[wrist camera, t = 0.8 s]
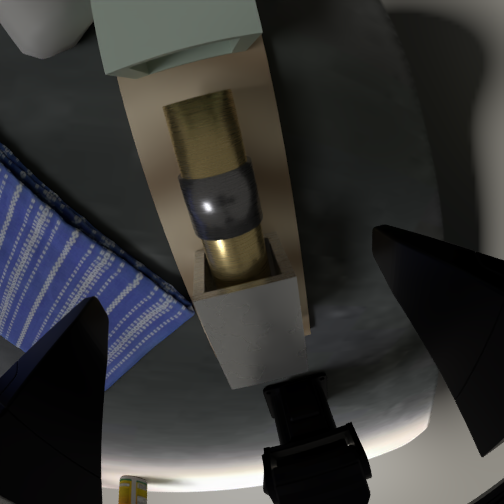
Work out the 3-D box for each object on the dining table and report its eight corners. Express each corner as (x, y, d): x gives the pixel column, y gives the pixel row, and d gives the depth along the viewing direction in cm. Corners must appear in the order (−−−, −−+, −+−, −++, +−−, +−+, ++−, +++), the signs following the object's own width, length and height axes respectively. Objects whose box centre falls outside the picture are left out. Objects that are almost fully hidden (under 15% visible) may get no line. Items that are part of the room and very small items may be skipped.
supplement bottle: (148, 478, 41) (148, 522, 33) (145, 484, 43) (145, 524, 35) (120, 473, 40) (118, 517, 31) (119, 479, 42) (117, 520, 34)
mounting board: (308, 329, 25) (310, 334, 24) (215, 351, 24) (216, 356, 24) (237, -49, 10) (238, -53, 10) (101, -13, 10) (98, -16, 10)
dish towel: (-30, 104, 12) (-54, 110, 9) (202, 295, 22) (203, 321, 20) (-69, 259, 16) (-84, 274, 14) (101, 388, 27) (97, 410, 24)
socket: (246, 50, 13) (262, 32, 9) (135, 79, 13) (105, 74, 9) (225, -32, 11) (234, -74, 6) (118, -3, 10) (85, -33, 6)
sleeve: (291, 321, 23) (308, 371, 19) (226, 337, 23) (232, 389, 19) (275, 231, 19) (296, 276, 15) (194, 251, 19) (192, 301, 15)
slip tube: (281, 321, 22) (293, 357, 19) (234, 333, 22) (239, 370, 19) (232, 88, 14) (239, 86, 11) (163, 106, 14) (151, 109, 11)
